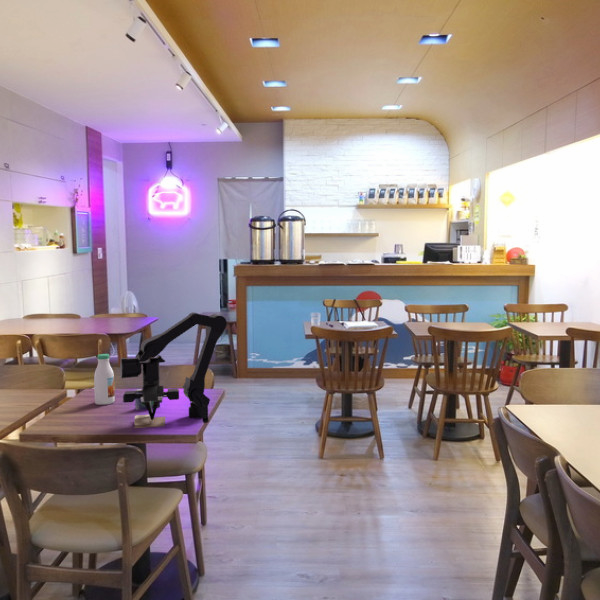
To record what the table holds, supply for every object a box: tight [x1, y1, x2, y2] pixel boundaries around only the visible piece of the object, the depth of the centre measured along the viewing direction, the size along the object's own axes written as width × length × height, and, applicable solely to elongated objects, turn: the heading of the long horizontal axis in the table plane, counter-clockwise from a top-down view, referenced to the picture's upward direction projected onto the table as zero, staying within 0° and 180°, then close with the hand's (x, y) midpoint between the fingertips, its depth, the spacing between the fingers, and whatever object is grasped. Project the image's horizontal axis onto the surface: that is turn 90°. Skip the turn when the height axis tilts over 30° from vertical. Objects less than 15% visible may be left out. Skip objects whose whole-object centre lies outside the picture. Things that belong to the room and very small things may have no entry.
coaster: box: [133, 414, 150, 426], centre depth 196 cm, size 5×5×2 cm
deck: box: [134, 416, 166, 429], centre depth 196 cm, size 10×12×2 cm
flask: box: [134, 388, 161, 411], centre depth 215 cm, size 9×3×11 cm, turn 109°
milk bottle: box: [93, 353, 116, 406], centre depth 228 cm, size 8×8×20 cm
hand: (152, 419), depth 196 cm, fingers closed
